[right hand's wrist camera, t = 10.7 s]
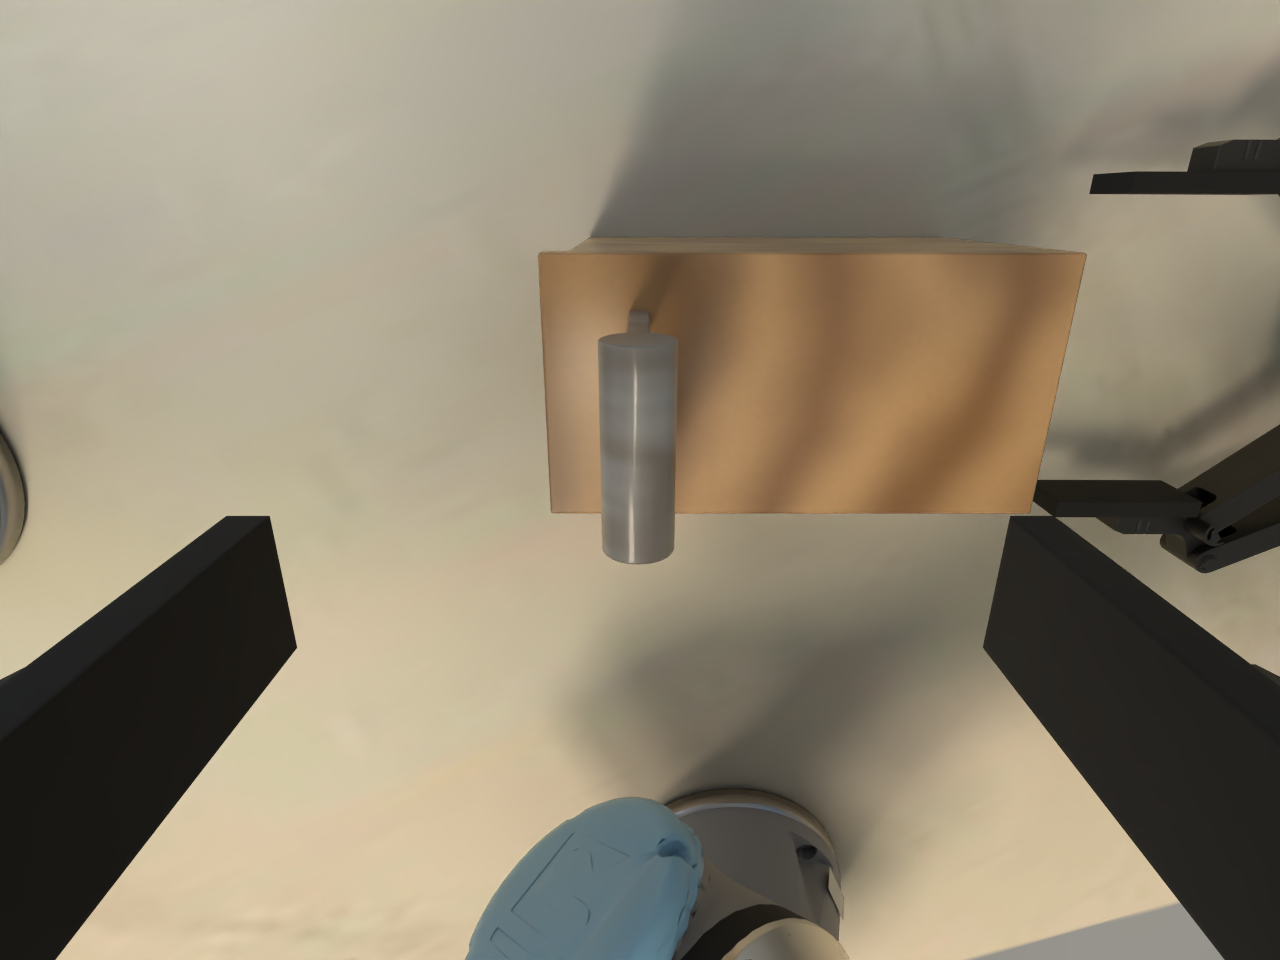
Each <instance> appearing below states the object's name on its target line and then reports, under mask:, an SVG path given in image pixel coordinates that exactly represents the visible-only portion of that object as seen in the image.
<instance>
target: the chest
mask: <svg viewBox="0 0 1280 960" xmlns="http://www.w3.org/2000/svg"><path fill="white" fill-rule="evenodd" d="M570 251H1063V250H1054V249H1045V248H1035V247H1026V246H1017V245H1008V244H998V243H989V242H980V241H971V240H961V239H952V238H944V237H590V238H588V239H587V240H586V241H584V242H582V243H581V244H579V245H578V246H576V247H575V248H573V249H572V250H570Z"/></svg>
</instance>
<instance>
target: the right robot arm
mask: <svg viewBox="0 0 1280 960" xmlns="http://www.w3.org/2000/svg"><path fill="white" fill-rule="evenodd" d="M24 507H25V503H24V492H23V487H22V481H21V478H20V474H19V471H18V468H17V465H16V463H15V460H14V458H13V455H12V453H11V451H10V449H9V447H8V445H7V443H6V442H5V440H4V438H3V437H2V435H1V433H0V565H1V564H2V563H3V562H4V561H5V560H6V558H7V557H8V556H9V555H10V553H11V552H12V550H13V549H14V547H15V545H16V543H17V541H18V539H19V536H20V533H21V530H22V526H23V520H24ZM296 648H297V645H296V640H295V635H294V630H293V626H292V621H291V616H290V611H289V607H288V602H287V597H286V592H285V587H284V583H283V578H282V573H281V568H280V563H279V559H278V554H277V549H276V544H275V540H274V535H273V530H272V525H271V520H270V516H226V517H224V518H223V519H222V520H220V521H219V522H218V523H216V524H215V525H214V526H212V527H211V528H210V529H209V530H207V531H206V532H205V533H203V534H202V535H201V536H199V537H198V538H197V539H195V540H194V541H193V542H191V543H190V544H189V545H187V546H186V547H185V548H183V549H182V550H181V551H179V552H178V553H177V554H175V555H174V556H173V557H171V558H170V559H169V560H167V561H166V562H165V563H163V564H162V565H161V566H159V567H158V568H157V569H155V570H154V571H153V572H151V573H150V574H149V575H147V576H146V577H145V578H143V579H142V580H141V581H139V582H138V583H137V584H135V585H134V586H133V587H131V588H130V589H129V590H127V591H126V592H125V593H123V594H122V595H121V596H119V597H118V598H117V599H115V600H114V601H113V602H111V603H110V604H109V605H107V606H106V607H105V608H103V609H102V610H101V611H100V612H98V613H97V614H96V615H94V616H93V617H92V618H90V619H89V620H88V621H86V622H85V623H84V624H82V625H81V626H80V627H78V628H77V629H76V630H74V631H73V632H72V633H70V634H69V635H68V636H66V637H65V638H64V639H62V640H61V641H60V642H58V643H57V644H56V645H54V646H53V647H52V648H50V649H49V650H48V651H46V652H45V653H44V654H42V655H41V656H40V657H38V658H37V659H36V660H34V661H33V662H32V663H30V664H29V665H28V666H26V667H25V668H23V669H21V670H19V671H17V672H15V673H13V674H11V675H9V676H7V677H5V678H3V679H1V680H0V960H55V959H56V958H57V957H58V956H59V954H60V953H61V952H62V950H63V949H64V948H65V947H66V945H67V944H68V943H69V941H70V940H71V939H72V938H73V936H74V935H75V934H76V932H77V931H78V930H79V929H80V927H81V926H82V925H83V923H84V922H85V921H86V919H87V918H88V917H89V916H90V914H91V913H92V912H93V910H94V909H95V908H96V907H97V905H98V904H99V903H100V901H101V900H102V899H103V898H104V896H105V895H106V894H107V892H108V891H109V890H110V888H111V887H112V886H113V885H114V883H115V882H116V881H117V879H118V878H119V877H120V876H121V874H122V873H123V872H124V870H125V869H126V868H127V867H128V865H129V864H130V863H131V861H132V860H133V859H134V857H135V856H136V855H137V854H138V852H139V851H140V850H141V848H142V847H143V846H144V845H145V843H146V842H147V841H148V839H149V838H150V837H151V836H152V834H153V833H154V832H155V830H156V829H157V828H158V827H159V825H160V824H161V823H162V821H163V820H164V819H165V817H166V816H167V815H168V814H169V812H170V811H171V810H172V808H173V807H174V806H175V805H176V803H177V802H178V801H179V799H180V798H181V797H182V796H183V794H184V793H185V792H186V790H187V789H188V788H189V786H190V785H191V784H192V783H193V781H194V780H195V779H196V777H197V776H198V775H199V774H200V772H201V771H202V770H203V768H204V767H205V766H206V765H207V763H208V762H209V761H210V759H211V758H212V757H213V756H214V754H215V753H216V752H217V750H218V749H219V748H220V746H221V745H222V744H223V743H224V741H225V740H226V739H227V737H228V736H229V735H230V734H231V732H232V731H233V730H234V728H235V727H236V726H237V725H238V723H239V722H240V721H241V719H242V718H243V717H244V715H245V714H246V713H247V712H248V710H249V709H250V708H251V706H252V705H253V704H254V703H255V701H256V700H257V699H258V697H259V696H260V695H261V694H262V692H263V691H264V690H265V688H266V687H267V686H268V685H269V683H270V682H271V681H272V679H273V678H274V677H275V675H276V674H277V673H278V672H279V670H280V669H281V668H282V666H283V665H284V664H285V663H286V661H287V660H288V659H289V657H290V656H291V655H292V654H293V652H294V651H295V650H296ZM983 648H984V650H985V651H986V652H987V654H988V655H989V656H990V657H991V659H992V660H993V661H994V663H995V664H996V665H997V666H998V668H999V669H1000V670H1001V672H1002V673H1003V674H1004V675H1005V677H1006V678H1007V679H1008V681H1009V682H1010V683H1011V685H1012V686H1013V687H1014V688H1015V690H1016V691H1017V692H1018V694H1019V695H1020V696H1021V697H1022V699H1023V700H1024V701H1025V703H1026V704H1027V705H1028V706H1029V708H1030V709H1031V710H1032V712H1033V713H1034V714H1035V715H1036V717H1037V718H1038V719H1039V721H1040V722H1041V723H1042V725H1043V726H1044V727H1045V728H1046V730H1047V731H1048V732H1049V734H1050V735H1051V736H1052V737H1053V739H1054V740H1055V741H1056V743H1057V744H1058V745H1059V746H1060V748H1061V749H1062V750H1063V752H1064V753H1065V754H1066V756H1067V757H1068V758H1069V759H1070V761H1071V762H1072V763H1073V765H1074V766H1075V767H1076V768H1077V770H1078V771H1079V772H1080V774H1081V775H1082V776H1083V777H1084V779H1085V780H1086V781H1087V783H1088V784H1089V785H1090V786H1091V788H1092V789H1093V790H1094V792H1095V793H1096V794H1097V796H1098V797H1099V798H1100V799H1101V801H1102V802H1103V803H1104V805H1105V806H1106V807H1107V808H1108V810H1109V811H1110V812H1111V814H1112V815H1113V816H1114V817H1115V819H1116V820H1117V821H1118V823H1119V824H1120V825H1121V827H1122V828H1123V829H1124V830H1125V832H1126V833H1127V834H1128V836H1129V837H1130V838H1131V839H1132V841H1133V842H1134V843H1135V845H1136V846H1137V847H1138V848H1139V850H1140V851H1141V852H1142V854H1143V855H1144V856H1145V857H1146V859H1147V860H1148V861H1149V863H1150V864H1151V865H1152V867H1153V868H1154V869H1155V870H1156V872H1157V873H1158V874H1159V876H1160V877H1161V878H1162V879H1163V881H1164V882H1165V883H1166V885H1167V886H1168V887H1169V888H1170V890H1171V891H1172V892H1173V894H1174V895H1175V896H1176V898H1177V899H1178V900H1179V901H1180V903H1181V904H1182V905H1183V907H1184V908H1185V909H1186V910H1187V912H1188V913H1189V914H1190V916H1191V917H1192V918H1193V919H1194V921H1195V922H1196V923H1197V925H1198V926H1199V927H1200V929H1201V930H1202V931H1203V932H1204V934H1205V935H1206V936H1207V938H1208V939H1209V940H1210V941H1211V943H1212V944H1213V945H1214V947H1215V948H1216V949H1217V950H1218V952H1219V953H1220V954H1221V956H1222V957H1223V958H1224V959H1225V960H1280V677H1279V676H1277V675H1275V674H1273V673H1271V672H1269V671H1267V670H1265V669H1263V668H1261V667H1259V666H1257V665H1255V664H1250V663H1248V662H1247V661H1246V660H1244V659H1243V658H1242V657H1240V656H1239V655H1238V654H1236V653H1235V652H1234V651H1232V650H1231V649H1230V648H1228V647H1227V646H1226V645H1224V644H1223V643H1222V642H1220V641H1219V640H1218V639H1216V638H1215V637H1214V636H1212V635H1211V634H1210V633H1208V632H1207V631H1206V630H1204V629H1203V628H1202V627H1200V626H1199V625H1198V624H1196V623H1195V622H1194V621H1192V620H1191V619H1190V618H1188V617H1187V616H1186V615H1184V614H1183V613H1182V612H1180V611H1179V610H1178V609H1177V608H1175V607H1174V606H1173V605H1171V604H1170V603H1169V602H1167V601H1166V600H1165V599H1163V598H1162V597H1161V596H1159V595H1158V594H1157V593H1155V592H1154V591H1153V590H1151V589H1150V588H1149V587H1147V586H1146V585H1145V584H1143V583H1142V582H1141V581H1139V580H1138V579H1137V578H1135V577H1134V576H1133V575H1131V574H1130V573H1129V572H1127V571H1126V570H1125V569H1123V568H1122V567H1121V566H1119V565H1118V564H1117V563H1115V562H1114V561H1113V560H1111V559H1110V558H1109V557H1107V556H1106V555H1105V554H1103V553H1102V552H1101V551H1099V550H1098V549H1097V548H1095V547H1094V546H1093V545H1091V544H1090V543H1089V542H1087V541H1086V540H1085V539H1083V538H1082V537H1081V536H1079V535H1078V534H1077V533H1075V532H1074V531H1073V530H1071V529H1070V528H1069V527H1068V526H1066V525H1065V524H1064V523H1062V522H1061V521H1060V520H1058V519H1057V518H1056V517H1054V516H1010V520H1009V525H1008V530H1007V535H1006V540H1005V544H1004V549H1003V554H1002V559H1001V563H1000V568H999V573H998V578H997V583H996V587H995V592H994V597H993V602H992V607H991V611H990V616H989V621H988V626H987V630H986V635H985V640H984V645H983Z"/></svg>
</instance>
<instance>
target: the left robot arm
mask: <svg viewBox="0 0 1280 960" xmlns="http://www.w3.org/2000/svg"><path fill="white" fill-rule="evenodd" d="M1090 194H1209V195H1254V194H1278V195H1279V196H1280V138H1278V139H1277V140H1228V141H1219V142H1209V143H1205V144H1203V145H1200V146H1198V147H1195V148H1193V151H1192V155H1191V159H1190V163H1189V167H1188V170H1187V172H1122V173H1108V174H1094V175H1093V180H1092V184H1091V189H1090ZM1033 501H1034V502H1035V503H1036V504H1038V505H1039V506H1040V507H1042V508H1043V509H1044V510H1046V511H1047V512H1048V513H1050V514H1051V515H1052V516H1054V517H1096V518H1097V519H1099V520H1100V521H1102V522H1103V523H1104V524H1106V525H1107V526H1109V527H1110V528H1112V529H1113V530H1115V531H1118V532H1120V533H1123V534H1163V535H1162V537H1161V539H1160V545H1161V547H1162V548H1164V549H1165V550H1167V551H1168V552H1170V553H1171V554H1173V555H1174V556H1176V557H1177V558H1179V559H1180V560H1182V561H1183V562H1185V563H1186V564H1188V565H1189V566H1191V567H1193V568H1194V569H1196V570H1197V571H1199V572H1201V573H1209V572H1212V571H1215V570H1217V569H1220V568H1223V567H1225V566H1228V565H1230V564H1233V563H1236V562H1238V561H1241V560H1244V559H1246V558H1249V557H1251V556H1254V555H1257V554H1259V553H1262V552H1264V551H1267V550H1270V549H1272V548H1275V547H1278V546H1280V425H1278V426H1277V427H1275V428H1274V429H1272V430H1270V431H1269V432H1267V433H1266V434H1264V435H1262V436H1261V437H1259V438H1258V439H1256V440H1255V441H1253V442H1251V443H1250V444H1248V445H1247V446H1245V447H1243V448H1242V449H1240V450H1239V451H1237V452H1236V453H1234V454H1232V455H1231V456H1229V457H1228V458H1226V459H1225V460H1223V461H1221V462H1220V463H1218V464H1217V465H1215V466H1213V467H1212V468H1210V469H1209V470H1207V471H1206V472H1204V473H1202V474H1201V475H1199V476H1198V477H1196V478H1194V479H1193V480H1191V481H1190V482H1188V483H1187V484H1185V485H1183V486H1182V487H1180V488H1179V489H1176V488H1174V487H1172V486H1170V485H1169V484H1167V483H1165V482H1163V481H1161V480H1037V483H1036V488H1035V492H1034V497H1033ZM843 914H844V897H843V895H842V893H841V880H840V871H839V866H838V863H837V860H836V856H835V853H834V850H833V847H832V844H831V841H830V839H829V837H828V835H827V833H826V832H825V830H824V829H823V827H822V826H821V825H820V823H819V822H818V821H817V820H816V819H815V818H814V817H813V816H812V815H811V814H809V813H808V812H807V811H805V810H804V809H803V808H801V807H799V806H798V805H796V804H795V803H793V802H790V801H788V800H786V799H784V798H781V797H779V796H776V795H773V794H769V793H765V792H760V791H755V790H747V789H719V790H710V791H705V792H700V793H696V794H693V795H689V796H686V797H684V798H681V799H678V800H676V801H674V802H672V803H670V804H668V805H666V806H664V805H663V804H661V803H658V802H656V801H654V800H650V799H645V798H638V797H626V798H618V799H613V800H610V801H606V802H603V803H600V804H597V805H595V806H592V807H590V808H588V809H586V810H585V811H583V812H582V813H581V814H579V815H578V816H576V817H574V818H572V819H570V820H566V821H565V822H564V823H562V824H561V825H559V826H558V827H556V828H555V829H554V830H553V831H551V832H550V833H549V834H548V835H546V836H545V837H544V838H543V839H542V840H541V841H539V842H538V843H537V844H536V845H535V846H534V847H533V848H532V849H531V850H530V851H529V852H528V853H527V854H526V855H525V856H524V857H523V858H522V859H521V861H520V862H519V863H518V864H517V865H516V866H515V867H514V869H513V870H512V871H511V872H510V874H509V875H508V876H507V877H506V879H505V880H504V881H503V883H502V884H501V886H500V887H499V888H498V890H497V891H496V893H495V894H494V896H493V897H492V899H491V900H490V902H489V904H488V906H487V907H486V909H485V911H484V913H483V914H482V916H481V918H480V920H479V922H478V924H477V926H476V928H475V930H474V933H473V935H472V937H471V939H470V944H469V952H468V955H467V957H466V959H465V960H850V959H849V957H848V955H847V953H846V951H845V950H844V948H843V947H842V945H841V944H840V943H839V942H838V940H839V922H840V915H841V917H842V919H843Z"/></svg>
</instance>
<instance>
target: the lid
mask: <svg viewBox="0 0 1280 960" xmlns="http://www.w3.org/2000/svg"><path fill="white" fill-rule="evenodd" d="M1085 260H1086V253H1082V252H1072V251H543V252H541V253H539V254H538V263H539V283H540V303H541V323H542V343H543V363H544V383H545V402H546V422H547V442H548V462H549V482H550V502H551V512H552V513H602V549H603V551H604V553H605V554H606V555H607V556H608V557H609V558H611V559H613V560H615V561H618V562H622V563H627V564H649V563H654V562H658V561H661V560H663V559H665V558H667V557H668V556H670V555H671V554H672V552H673V550H674V530H675V513H1030V511H1031V506H1032V501H1033V497H1034V492H1035V488H1036V483H1037V479H1038V474H1039V470H1040V465H1041V461H1042V456H1043V451H1044V447H1045V442H1046V438H1047V433H1048V429H1049V424H1050V420H1051V415H1052V410H1053V406H1054V401H1055V397H1056V392H1057V388H1058V383H1059V379H1060V374H1061V369H1062V365H1063V360H1064V356H1065V351H1066V347H1067V342H1068V338H1069V333H1070V328H1071V324H1072V319H1073V315H1074V310H1075V306H1076V301H1077V297H1078V292H1079V287H1080V283H1081V278H1082V274H1083V269H1084V265H1085Z"/></svg>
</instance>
